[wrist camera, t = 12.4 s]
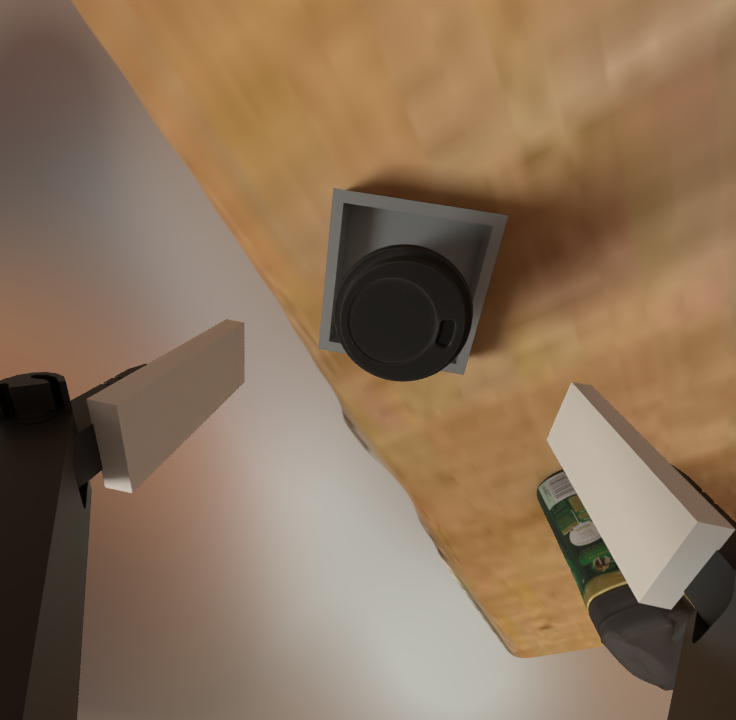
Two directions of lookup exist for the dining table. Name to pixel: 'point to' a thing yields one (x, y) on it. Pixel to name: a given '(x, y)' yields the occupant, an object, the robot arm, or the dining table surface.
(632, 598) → the coffee jar
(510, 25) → the dining table surface
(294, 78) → the dining table surface
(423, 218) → the tray
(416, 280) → the coffee cup
